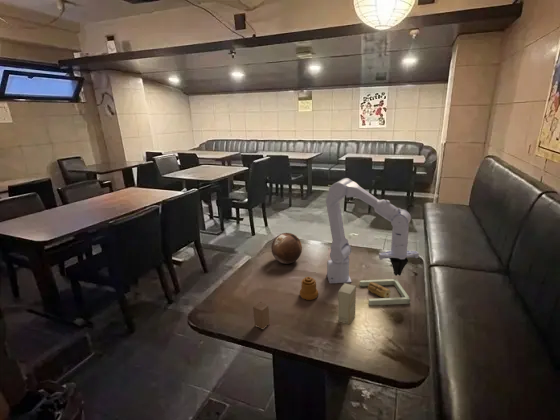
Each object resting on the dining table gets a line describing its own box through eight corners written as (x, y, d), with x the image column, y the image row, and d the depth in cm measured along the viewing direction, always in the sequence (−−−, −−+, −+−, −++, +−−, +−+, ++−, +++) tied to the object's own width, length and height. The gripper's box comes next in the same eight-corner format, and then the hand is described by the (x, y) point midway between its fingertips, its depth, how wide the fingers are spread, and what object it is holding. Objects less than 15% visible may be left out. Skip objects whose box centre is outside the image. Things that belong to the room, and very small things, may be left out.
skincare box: (349, 325, 104) (350, 294, 101) (337, 321, 106) (337, 291, 103) (355, 315, 109) (356, 285, 106) (343, 311, 112) (344, 282, 108)
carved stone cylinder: (367, 291, 123) (367, 282, 122) (373, 287, 125) (374, 279, 124) (384, 301, 117) (384, 292, 115) (390, 296, 119) (391, 288, 118)
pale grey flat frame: (369, 305, 114) (369, 300, 114) (359, 284, 128) (359, 280, 127) (409, 303, 114) (410, 298, 113) (395, 283, 128) (396, 279, 127)
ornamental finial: (321, 298, 120) (303, 302, 118) (314, 289, 127) (297, 292, 125) (321, 281, 117) (302, 284, 116) (313, 272, 124) (296, 275, 122)
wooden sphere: (266, 264, 149) (264, 236, 145) (283, 252, 161) (282, 226, 156) (291, 272, 141) (290, 242, 137) (307, 259, 153) (307, 231, 148)
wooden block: (261, 320, 109) (260, 301, 107) (270, 324, 107) (268, 305, 104) (254, 326, 106) (252, 306, 104) (262, 330, 104) (261, 310, 101)
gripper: (383, 247, 111) (381, 280, 115) (423, 245, 110) (420, 278, 114) (377, 240, 117) (376, 271, 121) (415, 238, 117) (412, 269, 121)
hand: (397, 274), depth 118 cm, fingers closed
